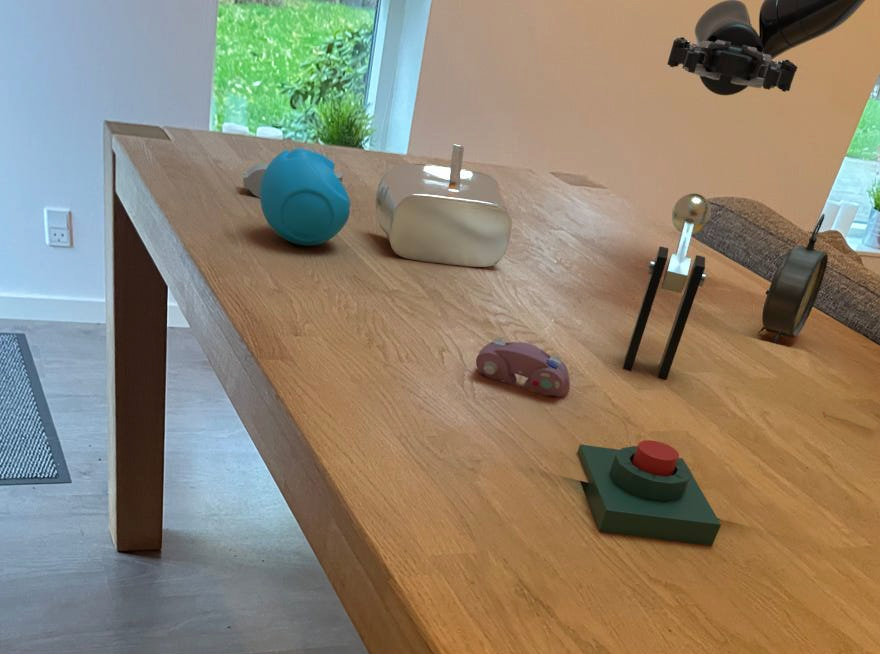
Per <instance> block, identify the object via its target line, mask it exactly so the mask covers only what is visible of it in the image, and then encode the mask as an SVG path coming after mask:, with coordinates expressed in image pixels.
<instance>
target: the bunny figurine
mask: <svg viewBox="0 0 880 654" xmlns="http://www.w3.org/2000/svg"><path fill="white" fill-rule="evenodd" d="M268 166H269V163H267V162H258V163H255V164H254V165H252V166H251V167H250V168H249V169H248V170H243V176H242V181H243V189H245V190H246V189H247V190H249V191H250V193H251V194H252V195H254V196H256V197H257V198H258V199H259V198H260V188H261V181H262V178H263V175H264V173H265V171H266V169H267V167H268ZM334 173H335V175H336V176H337V178H338V179H339V180H340V182H341V183H342V185H343V187H344V188H345V189H346V183H344V182H343V181H344V180H343V179H344V174H343V173H341V172H337V171H336V172H335V171H334Z"/></svg>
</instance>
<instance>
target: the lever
mask: <svg viewBox="0 0 880 654" xmlns="http://www.w3.org/2000/svg"><path fill="white" fill-rule="evenodd" d="M711 215H712V208H711V204H710V202H709V200H708V199H707V198H706V197H705V196H703V195H702V194H699V193H688V194H685V195H683V196H682V197H680V198H679V199H678V200H677V201H676V202H675V203H674V206H673V208H672V212H671V221H672V224H673V226H674V228H675V229H676V230H677V231H678V232H679V233H680V235H679V240H678V243H677V247H676V251H675V253H671V254H670V257H669V259H668V260H669V261H668V263H667V266H666V268H665V272H664V276H663V280H662V283H661V287H660V288H661V289H662V290H666V291H669V292H674V293H678V294H682V292H683V291H684V290H683V289H684V288H685V285H686V283H687V280H688V277H689V273H690V268H691V264H692V260H693V259H692V257H687V256H688V251H689V248H690V243H691V241H692V240H691V239H692V237H693V236H692V235H695V234H697V233H699V232H701V231H703V230H704V229H705V228H706V227H707V225H708V224H709V222H710V219H711Z"/></svg>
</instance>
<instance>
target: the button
mask: <svg viewBox="0 0 880 654" xmlns="http://www.w3.org/2000/svg"><path fill="white" fill-rule="evenodd" d="M636 446H637V449H636V452H635V455H634V458H633V461H632V464H633V465H634V466H636V467H637V468H639V469H640V470H642V471H645V472H648V473H650V474H653V475H658V476H671V475H672V474H673V472H674V469H675V466H676V464H677V461H678V458H680V453H679V451H678V450H677V449H676V448H675V447H672V446H671V445H669V444H668V443H665V442H662V441H659V440H651V439H648V440H647V439H645V440H642V441H639V443H638V444H637V445H636Z"/></svg>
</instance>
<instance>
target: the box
mask: <svg viewBox="0 0 880 654" xmlns="http://www.w3.org/2000/svg"><path fill="white" fill-rule="evenodd" d="M637 446H638V445H631V446H625V447H621V448H620V449H617V448H611V447H610V448H609V447H603V446H596V445H587V444H582V443H581V444H579V446H578V449H577V455H578V458H579V460H580V463H581V466H582V469H583V470H584V473H585V476H586V478H587V481H588V482H587V481H583V480H579V483H580V485H581V488H582V491H583V494H584V496H585V499H586V501H587V504H588V506H589V509H590V512H591V514H592V517H593V519H594V522H595V525H596V527H597V530H598V532H599V533H604V534H613V535H619V536H620V535H621V536H629V537H636V538H643V539H644V538H645V539H651V540H652V539H653V540H660V541H667V542H669V541H670V542H676V543H683V544H691V545H701V546H709V547H712V546H713V545H714V542H715V540H716V538H717V535H718V533H719V531H720V528H721V526H722V524H721V522H720V521H719V519H718V517H717V515H716V514H715V512H714V510H713V508H712V506H711V505H710V503H709V501H708V500H707V498H706V496H705V494H704V492H703V491H702V489H701V487H700V486H699V483H698V481H696V478H695V477H694V475H693V473H692V471H691V469H690V467H689V465H688V464H687V463H686V462H685V460H684V458H682V457H679V458H678V461H677V464H676V466H675V469H674V472H673V474H672V475H671V476H658V475H653V474H650V473H648V472H645V471H642V470H640V469H639V468H637V467H636V466H634V465H633V464H632V461H633V458H634V455H635V452H636V449H637Z"/></svg>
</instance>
